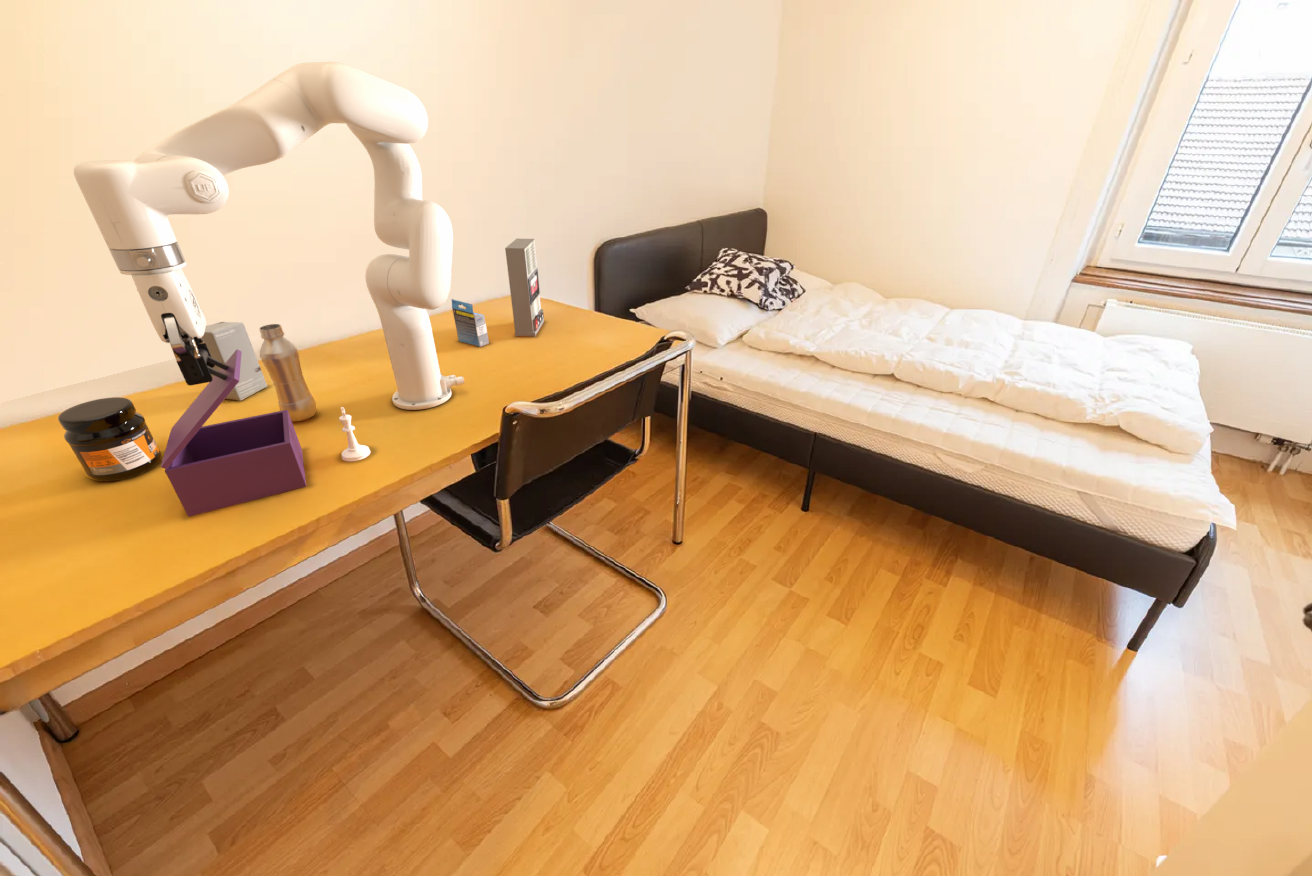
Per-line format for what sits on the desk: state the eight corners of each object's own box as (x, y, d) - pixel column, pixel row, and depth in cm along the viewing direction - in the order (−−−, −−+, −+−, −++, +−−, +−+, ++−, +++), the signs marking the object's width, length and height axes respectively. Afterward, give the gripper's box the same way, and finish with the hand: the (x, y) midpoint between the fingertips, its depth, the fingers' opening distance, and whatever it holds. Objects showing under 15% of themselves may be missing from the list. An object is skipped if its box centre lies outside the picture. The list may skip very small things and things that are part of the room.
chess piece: (342, 464, 103) (326, 416, 98) (341, 451, 107) (326, 404, 102) (371, 457, 105) (357, 410, 100) (369, 445, 109) (356, 399, 104)
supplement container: (148, 479, 98) (116, 418, 92) (75, 488, 96) (37, 427, 90) (174, 449, 107) (146, 392, 101) (108, 457, 104) (75, 399, 98)
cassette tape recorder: (536, 337, 163) (527, 248, 150) (515, 336, 163) (504, 248, 150) (544, 322, 175) (537, 238, 162) (525, 321, 175) (516, 238, 162)
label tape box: (489, 343, 158) (483, 300, 152) (478, 347, 155) (471, 304, 149) (468, 337, 162) (461, 295, 156) (457, 341, 159) (449, 298, 153)
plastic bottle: (326, 413, 120) (297, 323, 110) (300, 427, 115) (267, 334, 105) (303, 408, 122) (273, 319, 112) (276, 422, 117) (241, 330, 107)
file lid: (242, 351, 95) (205, 331, 92) (239, 380, 85) (198, 360, 81) (176, 430, 95) (137, 414, 92) (166, 469, 85) (121, 453, 81)
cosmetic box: (240, 401, 125) (213, 333, 117) (213, 398, 126) (184, 331, 118) (270, 386, 132) (246, 321, 124) (244, 383, 133) (219, 319, 125)
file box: (302, 450, 107) (287, 409, 103) (306, 486, 97) (290, 442, 92) (195, 474, 100) (175, 431, 95) (188, 516, 89) (164, 470, 85)
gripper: (176, 267, 74) (228, 390, 83) (187, 244, 87) (232, 353, 96) (103, 274, 71) (166, 402, 80) (125, 249, 83) (177, 362, 93)
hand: (201, 374), depth 88 cm, fingers closed on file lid, 5 cm apart
